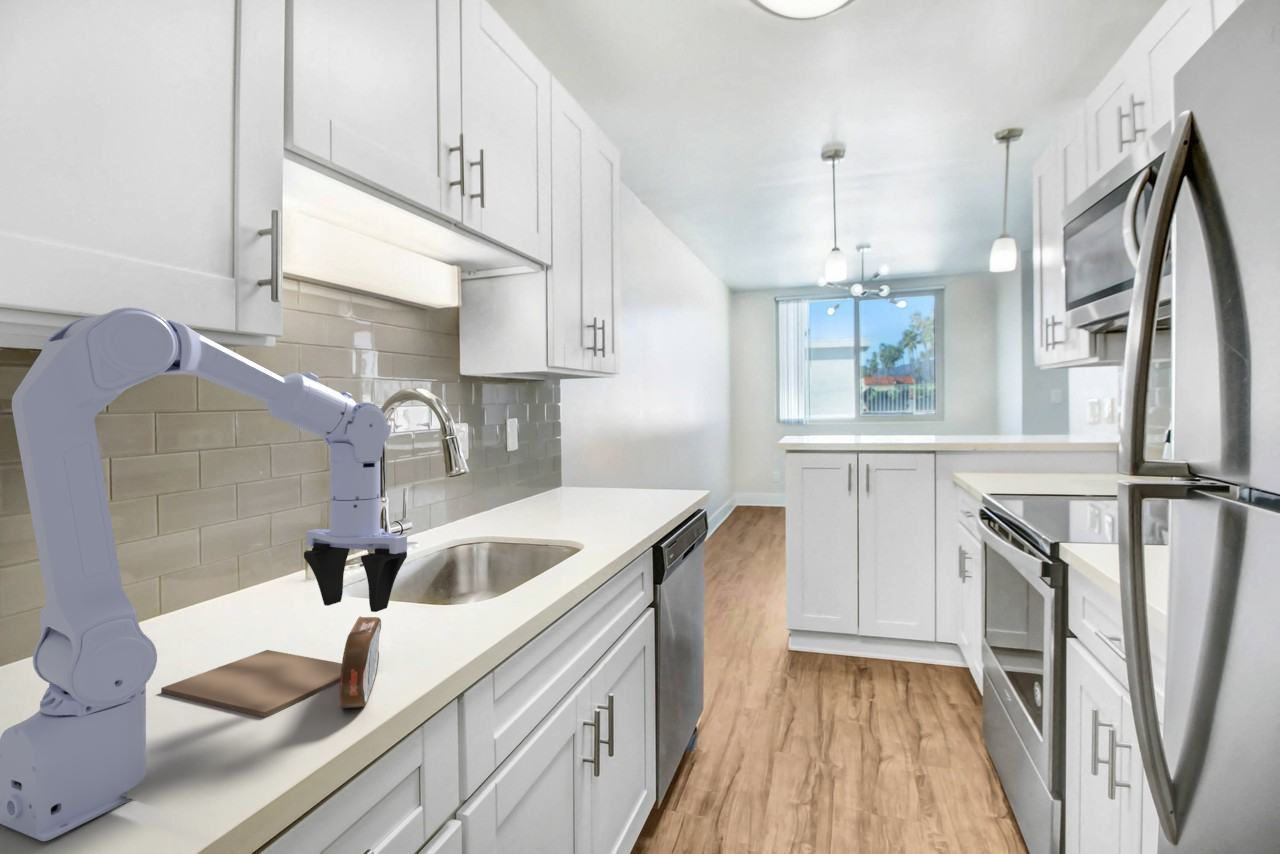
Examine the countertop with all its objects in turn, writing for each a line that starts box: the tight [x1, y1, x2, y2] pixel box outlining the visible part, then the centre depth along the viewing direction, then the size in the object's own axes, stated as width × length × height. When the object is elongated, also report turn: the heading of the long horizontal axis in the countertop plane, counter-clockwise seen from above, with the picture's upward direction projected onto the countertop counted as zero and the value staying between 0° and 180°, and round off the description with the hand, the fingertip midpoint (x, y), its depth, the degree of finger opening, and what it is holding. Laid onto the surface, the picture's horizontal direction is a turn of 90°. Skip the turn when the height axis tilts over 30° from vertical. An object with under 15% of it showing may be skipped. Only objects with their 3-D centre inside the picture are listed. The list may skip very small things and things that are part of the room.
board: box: [160, 649, 342, 718], centre depth 79 cm, size 14×18×1 cm
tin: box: [338, 616, 382, 710], centre depth 76 cm, size 15×3×8 cm, turn 16°
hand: (355, 606), depth 78 cm, fingers open, 7 cm apart
